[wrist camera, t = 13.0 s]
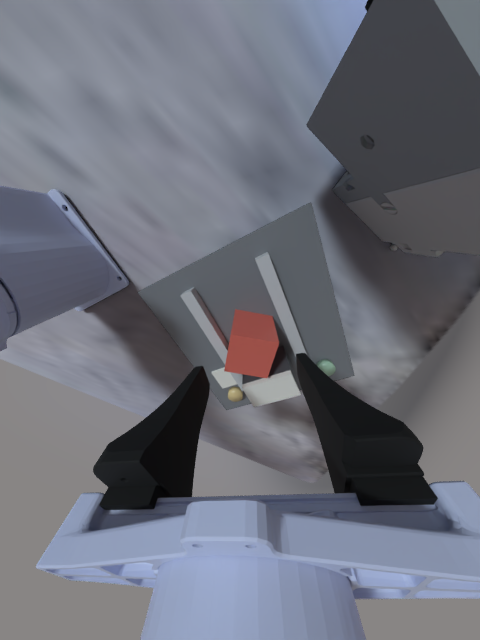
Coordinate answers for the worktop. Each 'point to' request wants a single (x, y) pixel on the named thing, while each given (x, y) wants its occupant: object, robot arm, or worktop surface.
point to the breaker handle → (272, 382)
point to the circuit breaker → (410, 124)
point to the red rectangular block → (251, 344)
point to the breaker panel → (256, 302)
